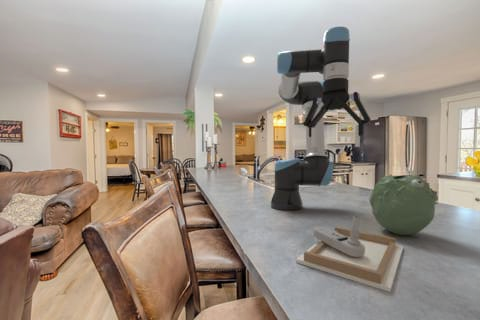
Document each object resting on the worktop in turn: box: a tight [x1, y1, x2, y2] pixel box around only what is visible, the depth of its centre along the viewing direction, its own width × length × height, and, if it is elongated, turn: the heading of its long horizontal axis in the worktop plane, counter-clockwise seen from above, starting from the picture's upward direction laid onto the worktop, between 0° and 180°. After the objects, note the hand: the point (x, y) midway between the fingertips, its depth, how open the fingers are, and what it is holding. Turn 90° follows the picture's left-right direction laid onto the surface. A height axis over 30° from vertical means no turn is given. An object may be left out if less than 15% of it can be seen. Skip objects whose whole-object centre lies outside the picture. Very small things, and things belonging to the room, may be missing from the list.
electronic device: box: [312, 215, 365, 257], centre depth 66 cm, size 5×10×15 cm
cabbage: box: [369, 173, 439, 236], centre depth 79 cm, size 16×19×20 cm
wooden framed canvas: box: [295, 226, 404, 293], centre depth 64 cm, size 26×20×3 cm
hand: (334, 147), depth 77 cm, fingers open, 13 cm apart
